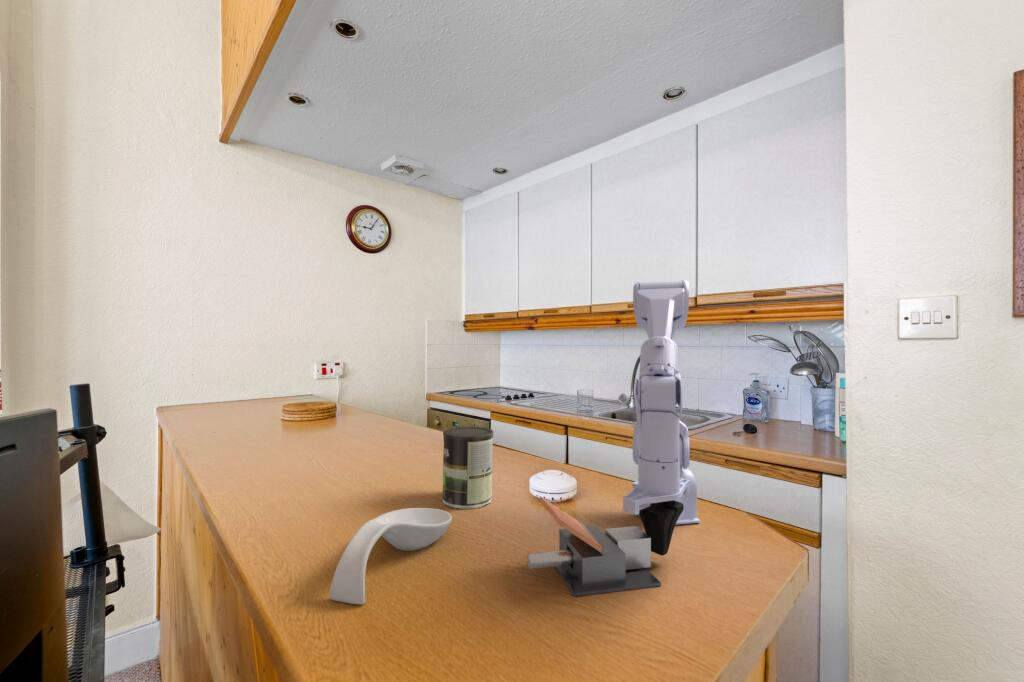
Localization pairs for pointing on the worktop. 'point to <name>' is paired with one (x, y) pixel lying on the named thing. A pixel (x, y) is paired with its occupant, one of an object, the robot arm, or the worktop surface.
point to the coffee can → (467, 467)
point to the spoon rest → (399, 530)
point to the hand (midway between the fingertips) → (658, 552)
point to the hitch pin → (625, 538)
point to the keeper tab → (573, 526)
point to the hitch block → (599, 566)
